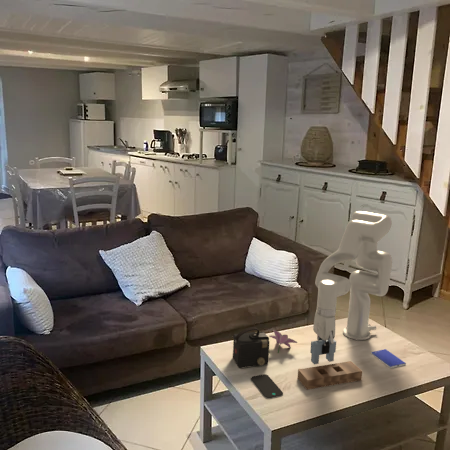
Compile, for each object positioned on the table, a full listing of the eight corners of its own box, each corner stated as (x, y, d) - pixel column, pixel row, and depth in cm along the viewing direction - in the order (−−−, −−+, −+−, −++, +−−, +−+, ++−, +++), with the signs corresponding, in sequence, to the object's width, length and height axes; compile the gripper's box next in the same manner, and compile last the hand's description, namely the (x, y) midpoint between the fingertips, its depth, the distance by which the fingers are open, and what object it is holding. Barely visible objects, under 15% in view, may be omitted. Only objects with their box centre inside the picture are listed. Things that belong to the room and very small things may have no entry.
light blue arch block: (330, 357, 200) (332, 338, 198) (334, 361, 198) (336, 341, 195) (309, 361, 197) (311, 341, 195) (313, 364, 195) (314, 344, 192)
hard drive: (371, 351, 208) (390, 366, 197) (386, 348, 211) (406, 362, 200) (370, 355, 209) (390, 369, 198) (385, 352, 212) (405, 365, 201)
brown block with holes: (350, 369, 195) (350, 361, 194) (361, 380, 188) (362, 371, 187) (297, 378, 188) (298, 369, 187) (307, 389, 180) (307, 380, 179)
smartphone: (266, 398, 173) (249, 376, 187) (266, 400, 173) (249, 378, 187) (284, 394, 176) (266, 373, 190) (284, 396, 176) (266, 375, 190)
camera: (271, 366, 196) (273, 333, 192) (239, 370, 192) (240, 336, 189) (262, 353, 206) (263, 321, 203) (231, 357, 202) (232, 324, 199)
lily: (299, 357, 206) (301, 334, 209) (279, 353, 200) (282, 330, 202) (279, 353, 216) (282, 332, 218) (260, 350, 209) (264, 328, 212)
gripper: (308, 303, 198) (305, 343, 203) (328, 320, 183) (325, 362, 188) (324, 301, 200) (321, 340, 205) (345, 317, 185) (341, 359, 190)
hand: (323, 350), depth 196 cm, fingers closed on light blue arch block, 3 cm apart
